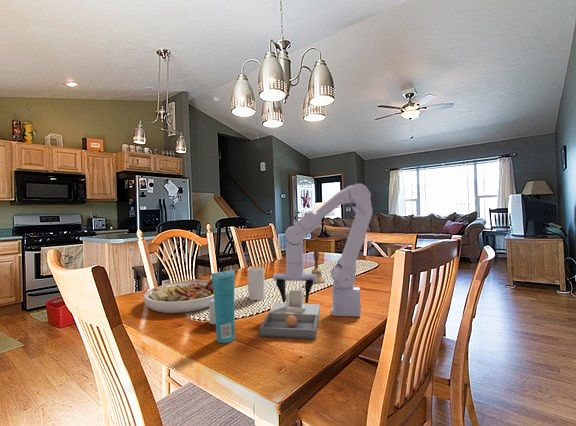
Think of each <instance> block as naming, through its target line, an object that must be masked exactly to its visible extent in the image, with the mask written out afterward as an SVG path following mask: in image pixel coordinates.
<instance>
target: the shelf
mask: <svg viewBox="0 0 576 426" xmlns="http://www.w3.org/2000/svg"><path fill="white" fill-rule="evenodd" d="M290 307H296V308H301V305H292V304H291V305H290ZM268 313H271V319H279V320H286V318H287V317H288V316H289V315H294V316H295V317H296V319H297V320H303V321H315V316H316V315H318V323H319V321H320V314H321V304H318V303H317V304H314V303H313V304H312V303H304V307H303V310H302V312H295V311H286V302H285V303H284V302H274V303H273V305H272V307H271V308H270V310H269V312H268Z"/></svg>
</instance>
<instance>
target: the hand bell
mask: <svg viewBox="0 0 576 426" xmlns="http://www.w3.org/2000/svg"><path fill="white" fill-rule="evenodd" d="M319 257H320V253H319V250H318V248H316V247H315V248H314V251H313V259H314V267H313V269H312V270H311V274H313V275H317V281H316V282H313V284H320V283H321V284H322V282H323V283H325V282H326V280H325V278H324V277H323V274H322V271H321V269H320V268H319Z"/></svg>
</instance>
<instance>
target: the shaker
mask: <svg viewBox="0 0 576 426" xmlns="http://www.w3.org/2000/svg"><path fill="white" fill-rule="evenodd" d="M285 303H286V311H295V312H302V310H303V307H304V304H305V290H303V289H289V290H288V292H287V293H286V301H285ZM291 304H292V305H301V308H296V307H290V305H291Z"/></svg>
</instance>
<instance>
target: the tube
mask: <svg viewBox="0 0 576 426" xmlns="http://www.w3.org/2000/svg"><path fill="white" fill-rule="evenodd" d="M210 276H211V279H212V284H213V295H214V306H215V318H216V324H215V330H216V331H215V332H216V341H217V343H219V344H228V343H231V342H233V341H234V340H235V338H236V335H235V331H236V330H235V327H236V326H235V324H236V323H235V318H234V314H235V283H236V282H235V280H236V279H235V278H236V277H235V276H236V270H235V269H231V270H224V271H219V272H218V271H217V272H213V273H211V275H210Z"/></svg>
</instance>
